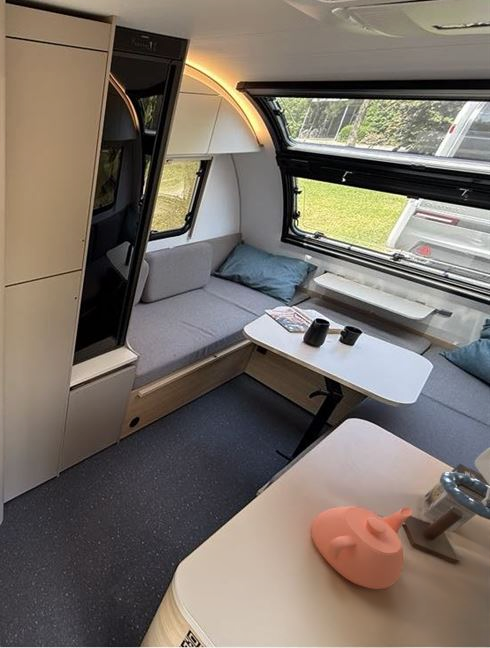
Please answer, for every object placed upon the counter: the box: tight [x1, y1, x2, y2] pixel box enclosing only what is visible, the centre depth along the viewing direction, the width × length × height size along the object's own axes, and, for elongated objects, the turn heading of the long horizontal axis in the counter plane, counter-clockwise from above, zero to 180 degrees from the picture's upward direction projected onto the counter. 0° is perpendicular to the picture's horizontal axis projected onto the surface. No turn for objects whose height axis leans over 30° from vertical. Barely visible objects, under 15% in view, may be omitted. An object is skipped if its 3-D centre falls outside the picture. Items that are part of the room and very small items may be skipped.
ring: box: [439, 471, 490, 521], centre depth 84 cm, size 12×12×2 cm
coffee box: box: [422, 463, 489, 533], centre depth 96 cm, size 9×6×16 cm
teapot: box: [310, 506, 413, 590], centre depth 86 cm, size 25×17×13 cm
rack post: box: [401, 507, 464, 564], centre depth 91 cm, size 9×9×12 cm
